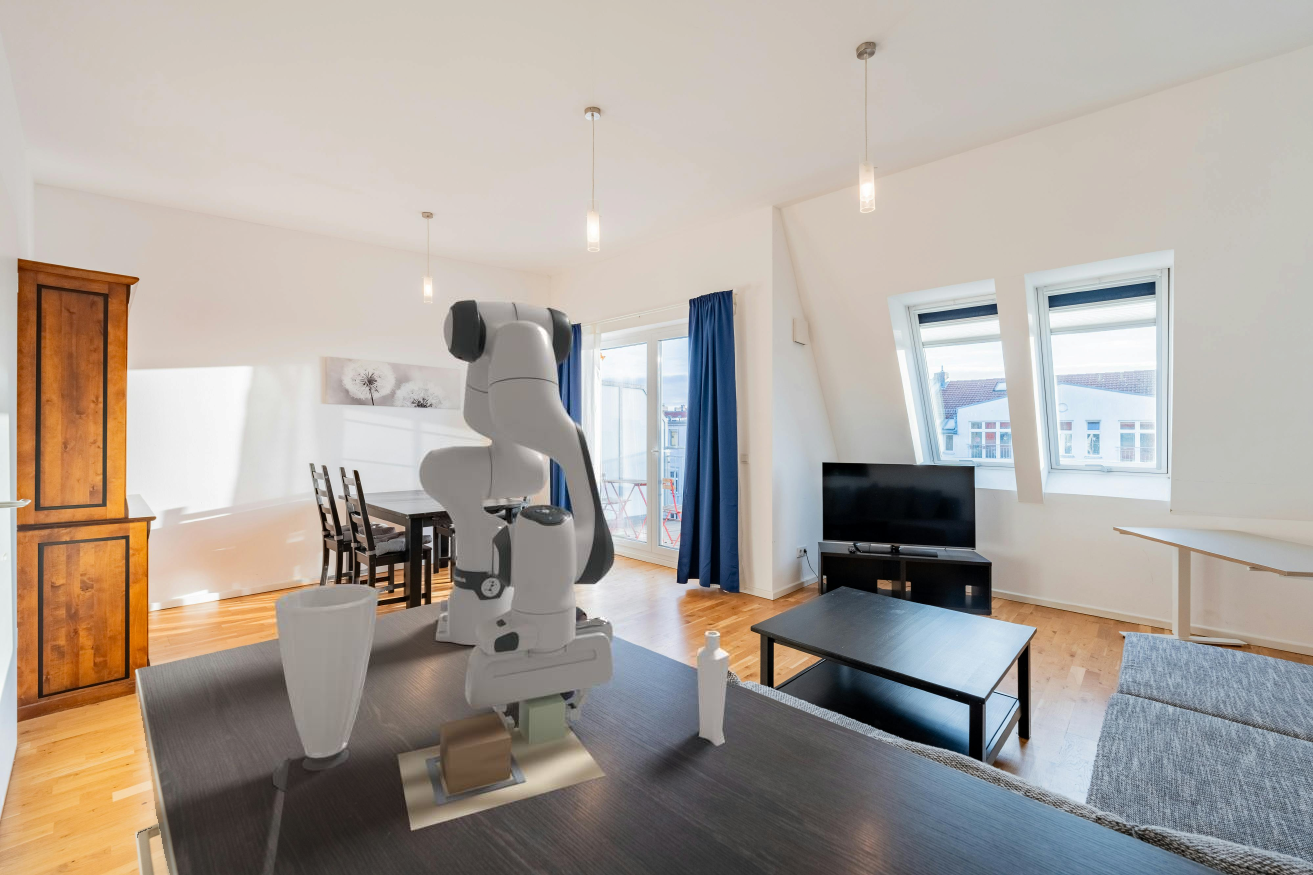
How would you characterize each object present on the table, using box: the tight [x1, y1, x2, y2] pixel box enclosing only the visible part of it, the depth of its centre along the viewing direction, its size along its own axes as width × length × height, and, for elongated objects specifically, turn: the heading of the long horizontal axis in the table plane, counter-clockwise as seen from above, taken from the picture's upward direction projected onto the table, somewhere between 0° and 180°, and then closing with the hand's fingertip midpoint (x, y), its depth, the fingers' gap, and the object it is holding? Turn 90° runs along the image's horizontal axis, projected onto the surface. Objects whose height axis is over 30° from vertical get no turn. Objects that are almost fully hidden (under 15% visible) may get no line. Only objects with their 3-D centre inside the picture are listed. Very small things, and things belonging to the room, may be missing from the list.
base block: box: [439, 711, 511, 795], centre depth 72 cm, size 7×7×5 cm
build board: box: [397, 721, 607, 831], centre depth 74 cm, size 16×22×1 cm
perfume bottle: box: [696, 630, 730, 747], centre depth 83 cm, size 5×4×15 cm
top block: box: [518, 693, 567, 746], centre depth 81 cm, size 5×5×5 cm
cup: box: [272, 583, 379, 793], centre depth 74 cm, size 12×12×22 cm
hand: (541, 725), depth 82 cm, fingers open, 8 cm apart
